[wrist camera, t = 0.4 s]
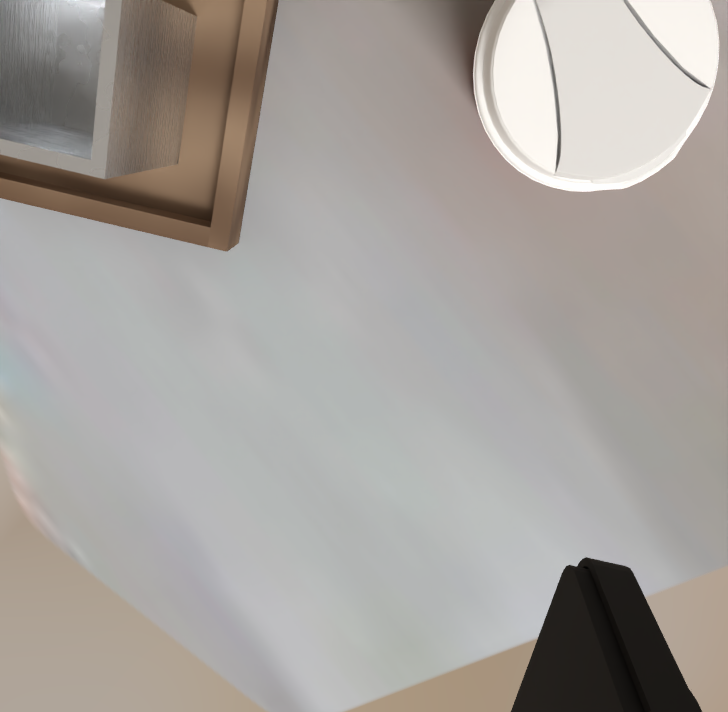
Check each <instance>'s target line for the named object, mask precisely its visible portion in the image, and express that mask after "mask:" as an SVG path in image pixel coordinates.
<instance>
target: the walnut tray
mask: <svg viewBox="0 0 728 712" xmlns="http://www.w3.org/2000/svg"><path fill="white" fill-rule="evenodd" d="M162 1H164V2H166V3H169V4H171V5H173V6H175V7H177V8H179V9H182V10H184V11H186V12H188V13H190V14H193V15H195V16H197V24H196V31H195V39H194V47H193V54H192V62H191V70H190V77H189V85H188V93H187V100H186V108H185V116H184V123H183V131H182V139H181V146H180V154H179V162H178V164H177V165H172V166H167V167H162V168H157V169H152V170H147V171H142V172H137V173H133V174H128V175H123V176H118V177H113V178H108V179H102V178H98V177H93V176H89V175H85V174H81V173H77V172H72V171H68V170H64V169H60V168H55V167H51V166H47V165H43V164H39V163H34V162H30V161H26V160H22V159H17V158H13V157H9V156H5V155H1V154H0V198H3V199H7V200H11V201H15V202H20V203H24V204H28V205H32V206H37V207H41V208H45V209H49V210H53V211H58V212H62V213H66V214H70V215H75V216H79V217H83V218H87V219H92V220H96V221H100V222H104V223H108V224H113V225H117V226H121V227H125V228H130V229H134V230H138V231H142V232H146V233H151V234H155V235H159V236H163V237H168V238H172V239H176V240H180V241H185V242H189V243H193V244H197V245H201V246H206V247H210V248H214V249H218V250H223V251H228V250H230V249H231V248H232V247H234V246H235V245H237V244H238V243H239V237H240V231H241V225H242V219H243V213H244V207H245V201H246V195H247V189H248V183H249V177H250V170H251V164H252V158H253V152H254V146H255V140H256V134H257V128H258V122H259V116H260V110H261V104H262V98H263V92H264V85H265V79H266V73H267V67H268V61H269V55H270V49H271V43H272V37H273V31H274V25H275V19H276V13H277V6H278V0H162Z"/></svg>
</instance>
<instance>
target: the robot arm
mask: <svg viewBox="0 0 728 712" xmlns="http://www.w3.org/2000/svg"><path fill="white" fill-rule="evenodd" d="M511 712H702V711H701V709H700V706H699V704H698V702H697V700H696V699H695V697H694V696H693V694H692V693H691V691H690V690H689V689H688V686H687V684H686V682H685V680H684V678H683V676H682V674H681V672H680V670H679V668H678V666H677V664H676V661H675V660H674V657H673V655H672V654H671V651H670V649H669V647H668V645H667V643H666V641H665V638H664V637H663V634H662V632H661V630H660V628H659V626H658V624H657V622H656V620H655V618H654V615H653V614H652V611H651V609H650V607H649V605H648V603H647V601H646V599H645V597H644V595H643V592H642V590H641V588H640V586H639V584H638V582H637V580H636V578H635V576H634V574H633V572H632V571H631V569H630V568H628V567H626V566H622V565H618V564H613V563H609V562H604V561H600V560H595V559H591V558H584V559H582V560H581V561H580V563H579V564H578V566H577V567H576V566H571V565H568V566H566V568H565V569H564V571H563V573H562V575H561V578H560V580H559V583H558V586H557V588H556V591H555V594H554V597H553V599H552V602H551V605H550V607H549V610H548V613H547V616H546V618H545V621H544V624H543V626H542V629H541V632H540V634H539V637H538V640H537V643H536V645H535V648H534V651H533V653H532V656H531V659H530V662H529V664H528V667H527V670H526V672H525V675H524V678H523V681H522V683H521V686H520V689H519V691H518V694H517V697H516V700H515V702H514V705H513V708H512V710H511Z"/></svg>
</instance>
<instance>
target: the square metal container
mask: <svg viewBox="0 0 728 712" xmlns="http://www.w3.org/2000/svg"><path fill="white" fill-rule="evenodd" d="M196 24H197V16H195V15H193V14H190V13H188V12H186V11H184V10H182V9H179V8H177V7H175V6H173V5H171V4H169V3H166V2H164V1H162V0H0V154H1V155H5V156H9V157H13V158H17V159H22V160H26V161H30V162H34V163H39V164H43V165H47V166H51V167H55V168H60V169H64V170H68V171H72V172H77V173H81V174H85V175H89V176H93V177H98V178H102V179H108V178H113V177H118V176H123V175H128V174H133V173H137V172H142V171H147V170H152V169H157V168H162V167H167V166H172V165H177V164H178V162H179V154H180V146H181V139H182V131H183V123H184V116H185V108H186V100H187V93H188V85H189V77H190V70H191V62H192V54H193V47H194V39H195V31H196Z"/></svg>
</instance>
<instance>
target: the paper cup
mask: <svg viewBox="0 0 728 712" xmlns="http://www.w3.org/2000/svg"><path fill="white" fill-rule="evenodd" d="M718 63H719V35H718V26H717V21H716V17H715V13H714V10H713V6H712V3H711V1H710V0H495V1H494V3H493V5H492V7H491V8H490V10H489V12H488V14H487V16H486V18H485V21H484V23H483V26H482V29H481V31H480V34H479V38H478V42H477V46H476V51H475V56H474V68H473V84H474V96H475V100H476V105H477V110H478V114H479V116H480V119H481V121H482V124H483V127H484V129H485V131H486V133H487V135H488V136H489V138H490V140H491V142H492V143H493V145H494V146H495V148H496V149H497V150H498V151H499V152H500V154H501V155H502V156H503V157H504V159H505V160H506V161H508V162H509V163H510V164H511V165H512V166H513V167H515V168H516V169H517V170H518V171H519V172H521V173H523V174H524V175H526V176H528V177H529V178H531V179H532V180H534V181H537V182H539V183H542V184H544V185H547V186H549V187H553V188H558V189H562V190H567V191H583V192H588V191H597V190H609V189H625V188H627V187H629V186H632V185H634V184H636V183H639V182H641V181H643V180H645V179H646V178H648V177H649V176H651V175H653V174H654V173H656V172H658V171H659V170H660V169H662V168H663V167H664V166H665V165H666V164H668V163H669V162H670V161H671V160H673V159H674V158H675V156H676V155H677V153H678V152H679V150H680V148H681V147H682V145H683V144H684V142H685V141H686V139H687V138H688V136H689V135H690V134H691V132H692V131H693V129H694V128H695V126H696V125H697V124H698V122H699V120H700V118H701V116H702V114H703V112H704V110H705V108H706V106H707V104H708V102H709V99H710V96H711V93H712V90H713V87H714V84H715V79H716V74H717V69H718Z"/></svg>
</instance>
